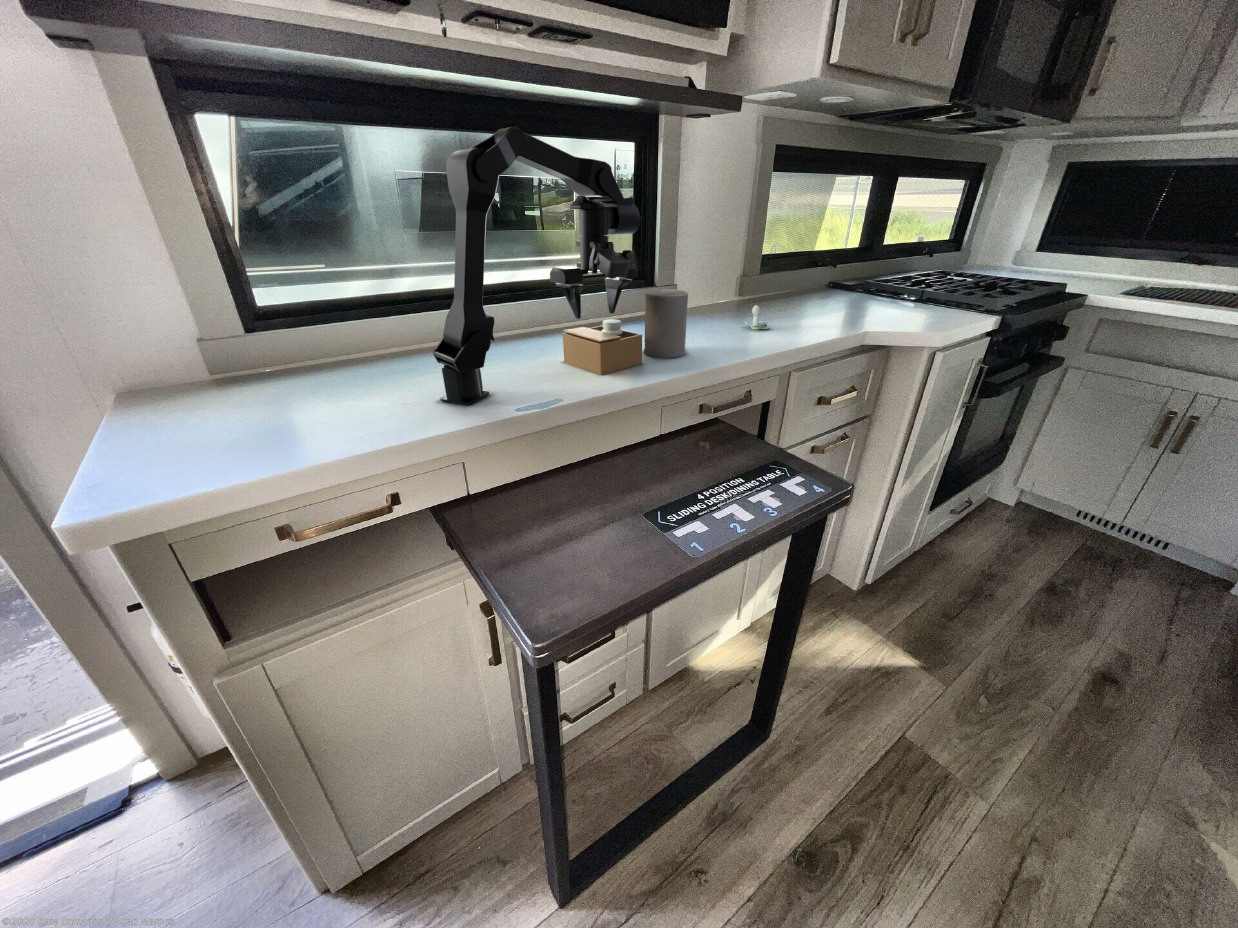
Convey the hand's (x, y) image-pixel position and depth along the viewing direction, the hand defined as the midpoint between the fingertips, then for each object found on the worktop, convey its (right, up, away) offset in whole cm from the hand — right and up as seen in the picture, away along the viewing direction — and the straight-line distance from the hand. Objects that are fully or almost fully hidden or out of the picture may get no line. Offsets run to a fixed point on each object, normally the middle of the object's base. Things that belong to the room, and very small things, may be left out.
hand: (595, 316), depth 107 cm
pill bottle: (+4, -8, +6) cm, 11 cm away
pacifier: (+44, +6, +34) cm, 56 cm away
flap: (-1, -4, 0) cm, 4 cm away
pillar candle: (+16, -5, +12) cm, 21 cm away
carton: (+1, -9, +5) cm, 10 cm away
